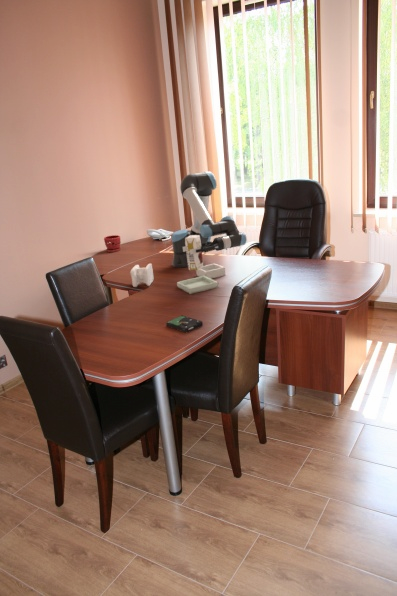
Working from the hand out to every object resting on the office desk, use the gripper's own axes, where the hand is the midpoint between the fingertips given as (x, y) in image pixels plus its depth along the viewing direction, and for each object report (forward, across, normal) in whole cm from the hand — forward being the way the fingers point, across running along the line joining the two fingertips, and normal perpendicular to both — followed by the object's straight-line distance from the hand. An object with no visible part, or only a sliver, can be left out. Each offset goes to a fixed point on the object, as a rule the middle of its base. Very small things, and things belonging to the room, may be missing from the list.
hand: (186, 250), depth 277 cm
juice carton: (-5, 0, -12) cm, 13 cm away
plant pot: (+5, +142, -22) cm, 144 cm away
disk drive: (+26, -50, -24) cm, 62 cm away
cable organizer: (+19, +30, -23) cm, 42 cm away
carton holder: (-21, +16, -23) cm, 35 cm away
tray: (-4, 0, -23) cm, 23 cm away
